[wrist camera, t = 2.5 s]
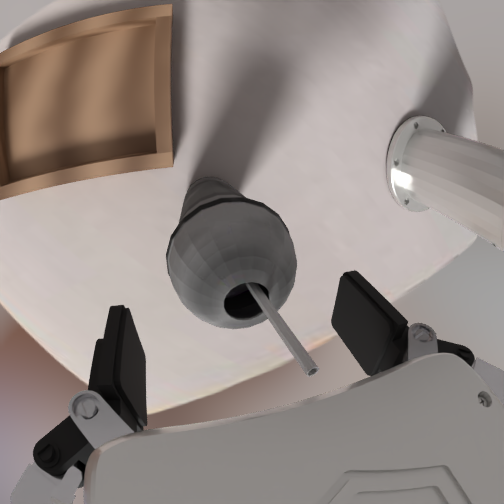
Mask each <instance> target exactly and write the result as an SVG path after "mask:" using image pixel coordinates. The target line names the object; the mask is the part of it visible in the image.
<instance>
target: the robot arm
mask: <svg viewBox="0 0 504 504" xmlns="http://www.w3.org/2000/svg"><path fill="white" fill-rule="evenodd" d="M386 173H387V181H388V185H389V188H390V191H391V193H392V195H393V198H394V199H395V200H396V201H397V203H398V204H399V205H401V206H402V207H403V208H405V209H407V210H409V211H412V212H422V211H425V210H428V209H429V208H431V209H433V210H435V211H437V212H439V213H441V214H442V215H444V216H446V217H448V218H450V219H451V220H453V221H455V222H457V223H458V224H460V225H462V226H463V227H465V228H467V229H468V230H470V231H472V232H473V233H475V234H477V235H478V236H480V237H482V238H483V239H485V240H486V241H488V242H490V243H491V244H493V245H494V246H495V247H497V248H498V249H500V250H501V251H503V252H504V150H502V149H500V148H497V147H494V146H491V145H488V144H485V143H482V142H478V141H475V140H471V139H468V138H464V137H461V136H457V135H453V134H449V133H447V132H446V130H445V129H444V127H443V126H442V125H441V124H440V123H439V122H438V121H437V120H435V119H433V118H431V117H427V116H415V117H411V118H409V119H408V120H406V121H405V122H404V123H403V124H402V125H401V126H400V127H399V128H398V130H397V131H396V133H395V134H394V137H393V139H392V141H391V144H390V147H389V151H388V156H387V171H386ZM331 323H332V326H333V328H334V329H335V331H336V332H337V333H338V335H339V336H340V337H341V339H342V340H343V342H344V343H345V345H346V346H347V347H348V349H349V350H350V351H351V353H352V354H353V356H354V357H355V359H356V360H357V361H358V363H359V364H360V366H361V367H362V369H363V370H364V371H365V373H366V374H367V375H370V376H371V377H368V378H366V379H363V380H361V381H358V382H356V383H353V384H350V385H347V386H345V387H342V388H339V389H336V390H333V391H330V392H327V393H324V394H321V395H318V396H315V397H312V398H308V399H305V400H302V401H298V402H295V403H291V404H287V405H284V406H280V407H276V408H272V409H268V410H264V411H260V412H255V413H251V414H246V415H241V416H236V417H231V418H226V419H220V420H214V421H208V422H202V423H196V424H188V425H181V426H172V427H165V428H158V429H149V430H145V431H143V426H147V408H146V358H145V353H144V350H143V348H142V345H141V342H140V339H139V336H138V333H137V331H136V328H135V325H134V322H133V318H132V315H131V312H130V309H129V308H125V307H124V305H118V306H111V307H110V309H109V314H108V319H107V323H106V328H105V333H104V338H103V339H98V340H97V342H96V345H95V350H94V356H93V361H92V367H91V373H90V379H89V386H88V390H86V391H81V392H79V393H77V394H76V395H74V396H73V398H72V399H71V400H70V402H69V406H68V410H69V414H70V416H68V417H67V418H66V419H65V420H64V421H62V422H61V423H60V424H59V425H57V426H56V427H55V428H54V429H53V430H51V431H50V432H49V433H48V434H47V435H45V436H44V437H43V438H42V439H40V440H39V441H38V442H37V443H36V445H35V447H34V450H33V457H34V460H35V461H34V463H33V464H32V465H31V464H29V465H28V466H27V468H26V470H25V472H24V473H23V475H22V476H21V478H20V480H19V482H18V483H17V485H16V487H15V489H14V490H13V492H12V494H11V498H10V499H11V504H72V503H73V500H74V499H75V497H76V496H75V495H74V493H75V491H76V489H77V488H80V487H83V486H84V491H83V493H84V495H83V497H84V504H504V371H502V370H501V369H499V368H497V367H495V366H493V365H491V364H489V363H487V362H485V361H483V360H481V359H479V358H476V360H475V358H474V355H473V353H472V352H471V350H470V349H468V348H467V347H465V346H463V345H459V344H454V343H450V342H446V341H442V340H439V339H437V337H436V333H435V332H434V330H433V329H432V328H431V327H429V326H428V325H426V324H422V323H415V324H412V325H411V326H410V327H408V326H407V323H408V321H407V320H406V319H405V318H404V317H403V316H402V315H401V314H400V313H399V312H398V311H397V310H396V309H395V308H394V307H393V306H392V305H391V304H390V303H389V302H388V301H387V300H386V299H385V298H384V297H383V296H382V295H381V294H380V293H379V292H378V291H377V290H376V289H375V288H374V287H373V286H372V285H371V284H370V283H369V282H368V281H367V280H366V279H365V278H364V277H363V276H362V275H361V274H360V273H358V272H357V271H350V272H345V273H344V274H343V276H341V278H340V282H339V287H338V292H337V296H336V301H335V306H334V310H333V315H332V319H331Z"/></svg>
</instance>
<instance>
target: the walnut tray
mask: <svg viewBox="0 0 504 504" xmlns="http://www.w3.org/2000/svg"><path fill="white" fill-rule="evenodd" d="M172 21H173V8H172V4H165V5H155V6H147V7H140V8H134V9H128V10H123V11H117V12H113V13H108V14H104V15H100V16H95V17H92V18H88V19H84V20H81V21H77V22H74V23H71V24H68V25H65V26H62V27H59V28H56V29H53V30H51V31H48V32H45V33H43V34H40V35H38V36H35V37H33V38H31V39H28V40H26V41H24V42H22V43H19V44H17V45H15V46H13V47H11V48H9V49H7V50H5V51H3V52H1V53H0V200H2V199H6V198H9V197H13V196H16V195H20V194H24V193H28V192H32V191H36V190H40V189H44V188H48V187H52V186H57V185H61V184H66V183H71V182H76V181H81V180H86V179H91V178H97V177H103V176H109V175H115V174H121V173H128V172H135V171H142V170H150V169H158V168H167V167H173V164H174V155H173V136H172V108H171V47H172Z"/></svg>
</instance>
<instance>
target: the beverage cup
mask: <svg viewBox="0 0 504 504" xmlns="http://www.w3.org/2000/svg"><path fill="white" fill-rule="evenodd" d="M166 260H167V269H168V274H169V276H170V278H171V282H172V284H173V287H174V289H175V291H176V292H177V294H178V296H179V298H180V300H181V302H182V303H183V304H184V306H185V307H186V308H187V309H188V310H190V311H191V312H192V313H193V314H194V315H195V316H196V317H198V318H199V319H201V320H202V321H204V322H207V323H209V324H211V325H214V326H216V327H221V328H229V329H240V328H248V327H251V326H254V325H256V324H259V323H262V322H264V321H265V320H267V319H269V321H270V322H271V324H272V325H273V327H274V328H275V330H276V331H277V333H278V334H279V336H280V337H281V338H282V340H283V341H284V343H285V344H286V346H287V347H288V349H289V350H290V352H291V353H292V355H293V356H294V358H295V359H296V361H297V362H298V363H299V365H300V366H301V368H302V369H303V371H304V372H305V374H306V375H307V376H309V377H310V376H313V375H314V374H316V373H317V372H318V370H319V368H318V366H317V365H316V364H315V362H314V361H313V360H312V358H311V357H310V356H309V354H308V353H307V351H306V350H305V349H304V347H303V346H302V345H301V343H300V342H299V341H298V339H297V338H296V336H295V335H294V334H293V332H292V331H291V330H290V328H289V327H288V325H287V324H286V323H285V321H284V320H283V319H282V317H281V316H280V314H279V313H278V312H277V311H278V310H279V309H280V308H281V307H282V305H283V304H284V303H285V302H286V300H287V298H288V296H289V294H290V292H291V290H292V288H293V286H294V282H295V275H296V268H297V260H296V255H295V250H294V245H293V242H292V239H291V237H290V234H289V231H288V228H287V227H286V225H285V224H284V222H283V221H282V219H281V218H280V216H279V214H277V213H276V212H275V211H273V210H272V209H270V208H269V207H268V206H266V205H265V204H264V203H261V202H258V201H255V200H251V199H248V198H246V197H245V196H244V195H242V194H241V193H240V192H238V191H237V190H236V189H234V188H233V187H232V186H230V185H229V184H228V183H226V182H225V181H222V180H221V179H218V178H215V177H205V178H202V179H199V180H197V181H196V182H195V183H193V184H192V185H191V187H190V188H189V189H188V191H187V194H186V196H185V199H184V203H183V207H182V212H181V216H180V221H179V224H178V226H177V228H176V229H175V231H174V232H173V234H172V235H171V237H170V241H169V245H168V249H167V253H166Z"/></svg>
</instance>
